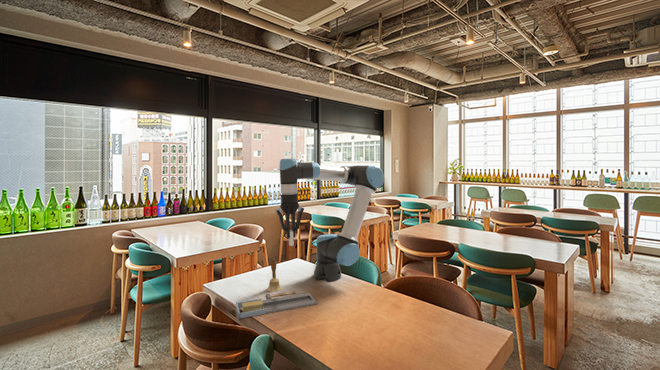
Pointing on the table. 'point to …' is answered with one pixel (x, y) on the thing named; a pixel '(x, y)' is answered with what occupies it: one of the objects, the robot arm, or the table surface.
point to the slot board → (288, 302)
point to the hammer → (278, 294)
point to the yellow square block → (257, 305)
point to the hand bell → (274, 279)
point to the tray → (250, 313)
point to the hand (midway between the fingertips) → (291, 245)
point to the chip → (247, 307)
